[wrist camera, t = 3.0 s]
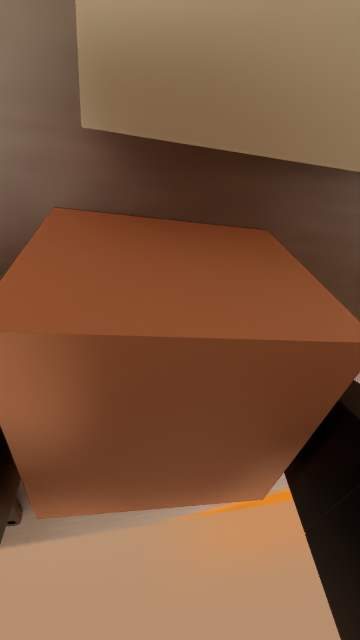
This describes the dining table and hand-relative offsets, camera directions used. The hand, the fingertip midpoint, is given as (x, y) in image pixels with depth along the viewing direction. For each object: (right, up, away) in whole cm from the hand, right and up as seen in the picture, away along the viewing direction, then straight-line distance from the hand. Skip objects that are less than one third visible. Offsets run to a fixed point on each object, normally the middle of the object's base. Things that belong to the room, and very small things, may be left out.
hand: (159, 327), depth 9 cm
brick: (0, +1, +1) cm, 1 cm away
